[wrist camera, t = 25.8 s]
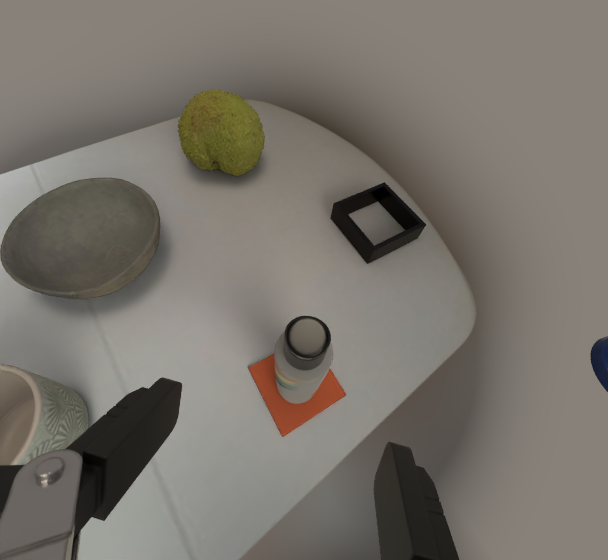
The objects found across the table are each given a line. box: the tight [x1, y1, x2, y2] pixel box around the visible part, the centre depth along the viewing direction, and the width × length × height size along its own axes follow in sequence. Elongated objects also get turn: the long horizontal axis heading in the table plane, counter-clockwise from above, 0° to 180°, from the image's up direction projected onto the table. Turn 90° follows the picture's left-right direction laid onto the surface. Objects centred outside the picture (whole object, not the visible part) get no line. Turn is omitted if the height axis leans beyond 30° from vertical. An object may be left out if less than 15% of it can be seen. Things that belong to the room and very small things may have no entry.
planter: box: [0, 365, 89, 465], centre depth 32 cm, size 12×12×11 cm
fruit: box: [178, 89, 265, 176], centre depth 57 cm, size 16×14×15 cm
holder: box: [331, 182, 426, 264], centre depth 55 cm, size 12×12×4 cm
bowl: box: [0, 178, 160, 299], centre depth 46 cm, size 21×21×8 cm
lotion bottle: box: [274, 316, 333, 404], centre depth 32 cm, size 6×6×20 cm
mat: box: [249, 354, 346, 437], centre depth 41 cm, size 10×10×1 cm
